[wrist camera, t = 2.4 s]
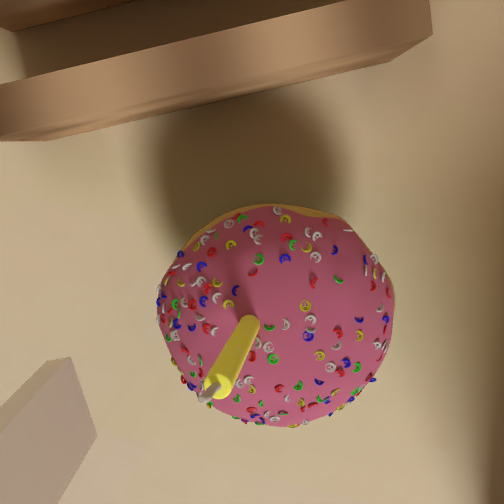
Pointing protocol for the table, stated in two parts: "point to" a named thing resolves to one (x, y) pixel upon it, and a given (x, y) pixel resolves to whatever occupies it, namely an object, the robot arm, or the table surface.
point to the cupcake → (276, 314)
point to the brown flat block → (212, 68)
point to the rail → (46, 11)
